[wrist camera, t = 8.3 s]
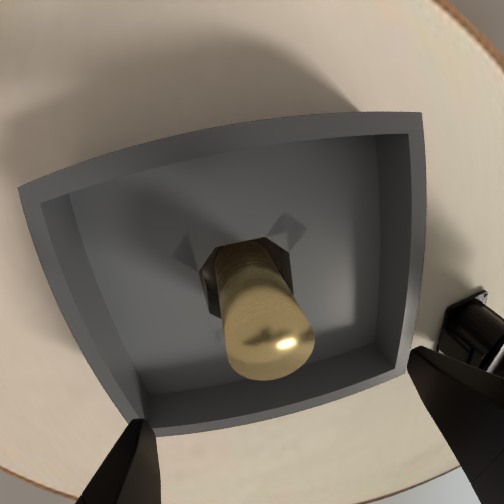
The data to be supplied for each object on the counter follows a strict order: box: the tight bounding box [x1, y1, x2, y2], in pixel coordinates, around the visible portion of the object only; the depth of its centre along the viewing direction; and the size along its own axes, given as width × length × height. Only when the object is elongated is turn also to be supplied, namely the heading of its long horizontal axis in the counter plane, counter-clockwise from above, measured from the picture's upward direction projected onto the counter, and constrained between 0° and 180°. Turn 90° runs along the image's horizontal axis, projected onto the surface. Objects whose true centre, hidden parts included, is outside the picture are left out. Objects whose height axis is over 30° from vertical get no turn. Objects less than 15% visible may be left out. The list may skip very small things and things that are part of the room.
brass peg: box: [215, 240, 315, 381], centre depth 15 cm, size 3×3×8 cm
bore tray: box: [18, 112, 426, 437], centre depth 16 cm, size 18×16×6 cm
